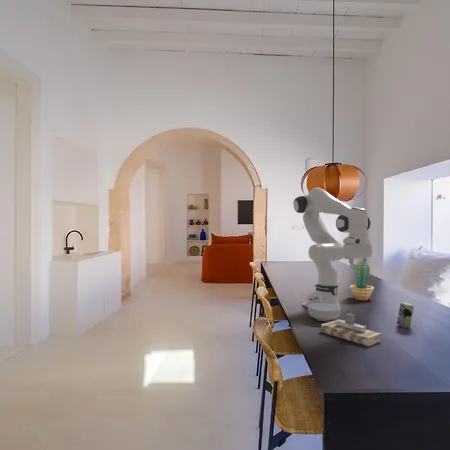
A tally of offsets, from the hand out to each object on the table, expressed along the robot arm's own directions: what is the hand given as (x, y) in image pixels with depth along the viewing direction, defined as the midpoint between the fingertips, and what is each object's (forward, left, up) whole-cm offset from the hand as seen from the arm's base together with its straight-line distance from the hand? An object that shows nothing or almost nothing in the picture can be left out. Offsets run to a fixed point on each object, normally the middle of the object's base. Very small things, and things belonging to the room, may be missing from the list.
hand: (358, 267), depth 178 cm
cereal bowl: (-16, -6, -29) cm, 34 cm away
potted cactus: (-32, +56, -29) cm, 71 cm away
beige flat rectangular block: (+8, -19, -29) cm, 36 cm away
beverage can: (+16, +16, -29) cm, 37 cm away
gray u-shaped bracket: (+8, -19, -29) cm, 36 cm away
